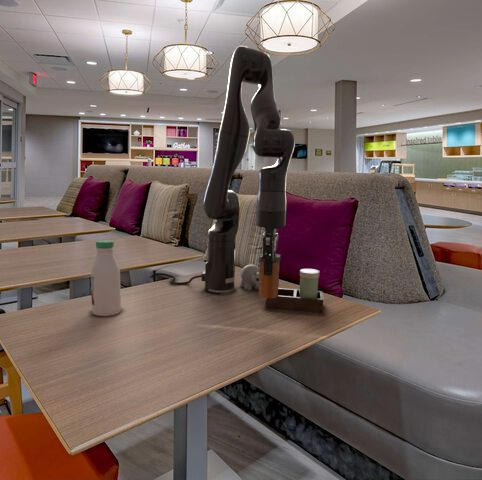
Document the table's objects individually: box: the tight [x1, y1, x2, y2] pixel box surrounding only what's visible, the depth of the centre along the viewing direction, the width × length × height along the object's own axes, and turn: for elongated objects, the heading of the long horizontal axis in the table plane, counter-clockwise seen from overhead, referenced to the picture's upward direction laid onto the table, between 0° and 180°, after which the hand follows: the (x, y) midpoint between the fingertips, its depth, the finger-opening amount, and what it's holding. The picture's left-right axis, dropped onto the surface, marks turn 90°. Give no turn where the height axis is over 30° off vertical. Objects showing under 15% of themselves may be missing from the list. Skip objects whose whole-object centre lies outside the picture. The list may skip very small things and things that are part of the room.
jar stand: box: [265, 287, 324, 315], centre depth 123 cm, size 16×8×5 cm, turn 79°
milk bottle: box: [90, 239, 122, 317], centre depth 114 cm, size 8×8×20 cm
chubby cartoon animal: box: [239, 264, 260, 291], centre depth 138 cm, size 7×12×8 cm, turn 20°
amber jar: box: [258, 252, 281, 299], centre depth 111 cm, size 6×6×11 cm
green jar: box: [299, 268, 321, 299], centre depth 121 cm, size 6×6×11 cm
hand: (269, 271), depth 111 cm, fingers closed on amber jar, 5 cm apart
